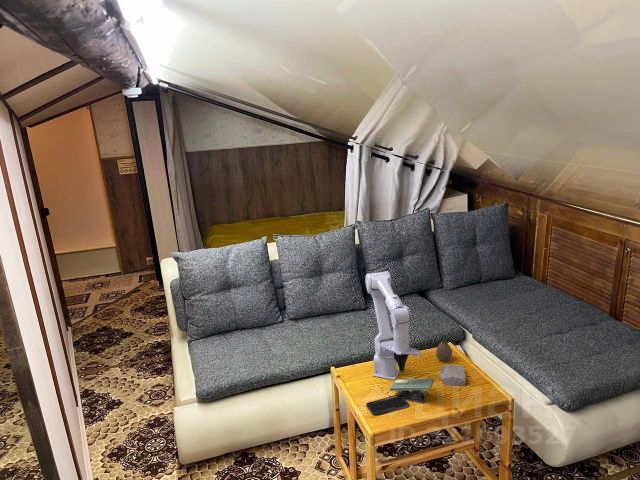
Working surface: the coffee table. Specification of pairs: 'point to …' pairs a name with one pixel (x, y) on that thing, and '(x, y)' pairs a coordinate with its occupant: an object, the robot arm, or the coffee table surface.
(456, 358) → the coffee table surface
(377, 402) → the phone
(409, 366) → the coffee table surface
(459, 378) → the stone block
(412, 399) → the tribrach base
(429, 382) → the plate
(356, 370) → the coffee table surface
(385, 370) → the robot arm
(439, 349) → the vase
